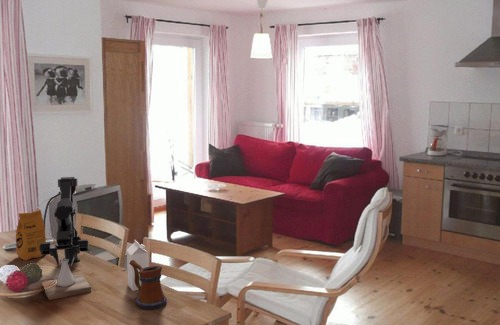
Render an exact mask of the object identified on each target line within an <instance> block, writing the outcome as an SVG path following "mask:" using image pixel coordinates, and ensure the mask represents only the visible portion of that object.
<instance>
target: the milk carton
mask: <svg viewBox="0 0 500 325" xmlns="http://www.w3.org/2000/svg"><path fill="white" fill-rule="evenodd" d="M149 258H150V257H149V252H148V251H147V250H146V245H144V244H143V243H141V244H140V243H139V242H138V241H137V240H136V239H134V242H133V243H132V244H131V245H130V246H129V247H128V248H127V249H126V266H127V285H128V288H130V290H131V291H132V292H135V291H139V289H138V288H137V286H136V285H135V281H134V279H135V272H134V268H133V266H132V265H130V264H129V263H130V261H132V260H134V261H135V262H136V263H137V264H139V265H140V266H141V267H142V268H145V267H149V266H150V259H149ZM137 270H138V272H139V271H140V270H139V269H138V268H137ZM139 276H140V274H139ZM139 283H140V286H141V281H140V278H139Z"/></svg>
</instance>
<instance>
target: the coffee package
mask: <svg viewBox="0 0 500 325" xmlns="http://www.w3.org/2000/svg"><path fill="white" fill-rule="evenodd" d="M43 218H44V217H43V214H42V210H41V209H37V210H35V211H34V210H33V211H31V212H18V223H17V226H16V230H15V246H16V247H15V248H16V255H17V257H18V258H19V259H21V260H22V259H23V260H22V261H28V260H30V259H31V260H32V259H38V258H41V257H43V256H44V255H41V253H40V249H39V247H40V244H41V243H47V238H46V227H45V222H44V219H43Z"/></svg>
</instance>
